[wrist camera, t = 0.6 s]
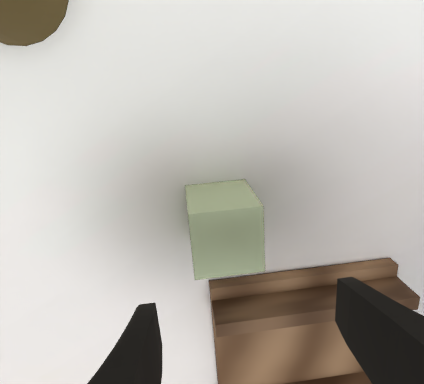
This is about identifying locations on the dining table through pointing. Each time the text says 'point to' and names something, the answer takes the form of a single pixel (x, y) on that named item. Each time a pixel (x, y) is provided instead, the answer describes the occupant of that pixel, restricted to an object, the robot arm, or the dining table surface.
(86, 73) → the dining table surface
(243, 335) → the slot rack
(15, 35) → the cork
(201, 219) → the sage block
